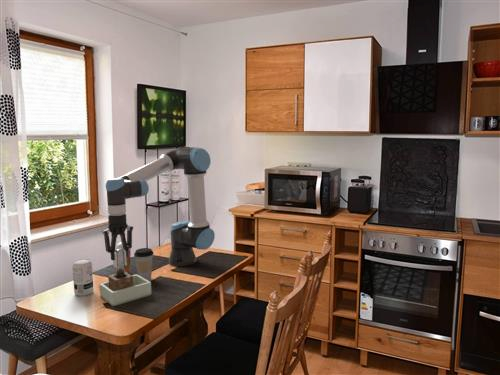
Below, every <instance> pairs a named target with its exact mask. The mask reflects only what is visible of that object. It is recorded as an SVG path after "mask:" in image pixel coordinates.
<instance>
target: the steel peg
mask: <svg viewBox="0 0 500 375" xmlns="http://www.w3.org/2000/svg"><path fill="white" fill-rule="evenodd" d="M115 252H116V253H117V268H115V274H116V277H123V276H125V270H124V251H123V249H121V248H120V249H115Z"/></svg>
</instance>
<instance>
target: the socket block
mask: <svg viewBox="0 0 500 375" xmlns="http://www.w3.org/2000/svg"><path fill="white" fill-rule="evenodd" d="M107 278H108V281H109V289H111V290H112V291H113V292H114V291H118V290H121V289H125V288H129V287H132V286H133V276H132V275H131V274H130V273H129V274H128V273H127V272H125V276H123V277H116V273H114V274H110V275H108V276H107ZM108 281H107V282H108Z"/></svg>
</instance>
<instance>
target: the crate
mask: <svg viewBox="0 0 500 375" xmlns="http://www.w3.org/2000/svg"><path fill="white" fill-rule="evenodd" d="M132 276H133V286H132V287H129V288H125V289H121V290H118V291H114V292H113V291H112V290H111V289H109V281H106V282H101V283H99V297H100V298H101V299H103V300H104V301H105V302H107V303H108V304H110V305H111V307H116V306H119V305H122V304H126V303H129V302H132V301H136V300H139V299H143V298H146V297H150V296H152V282H151V281H150V280H149V281H148V280H146V279H144V278H143V277H141V276H139V275H138V273H137V274H133V275H132Z"/></svg>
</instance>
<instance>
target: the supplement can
mask: <svg viewBox="0 0 500 375" xmlns="http://www.w3.org/2000/svg"><path fill="white" fill-rule="evenodd" d="M71 268H72V279H73V292H74V293H73V294H75V295H76V296H78V297H84V296H89V295H91V294H92V293H93V292H94V291H95V290H94V274H93V263H92V261H91V260H90V259H89V258H88V259H87V258H83V259H76V260H75V261H74V262H73V263H72V267H71Z"/></svg>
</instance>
